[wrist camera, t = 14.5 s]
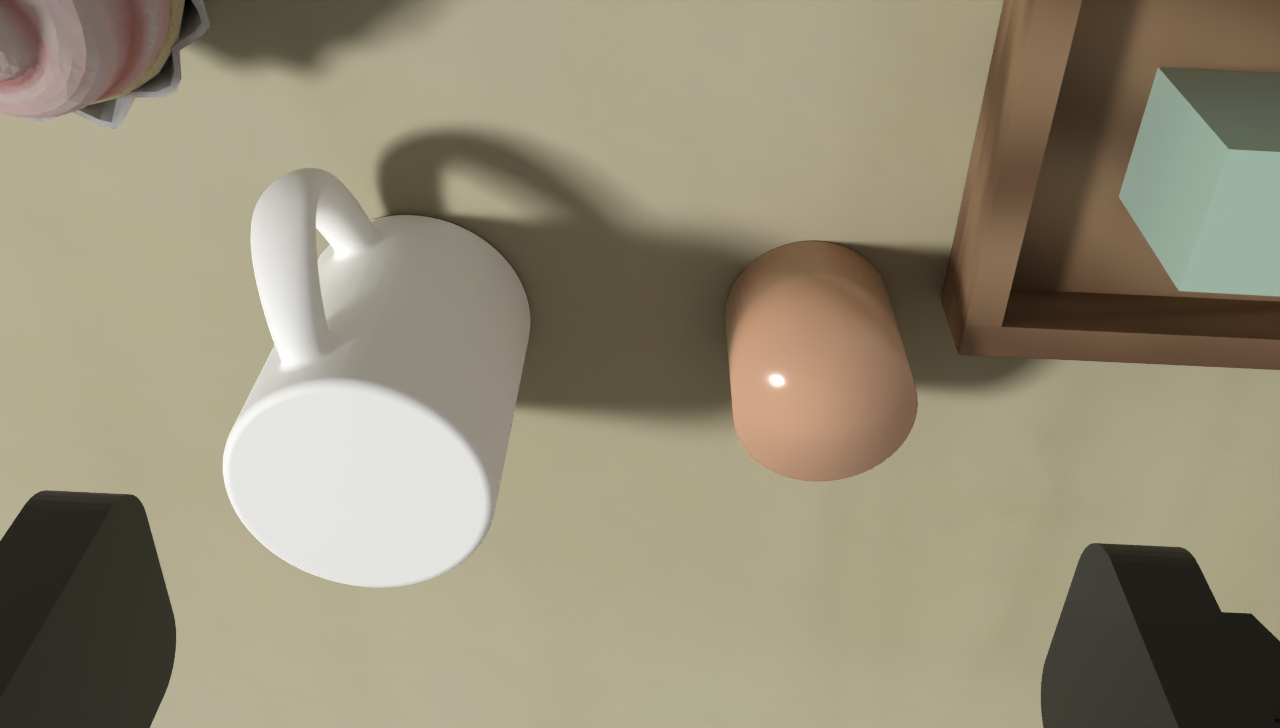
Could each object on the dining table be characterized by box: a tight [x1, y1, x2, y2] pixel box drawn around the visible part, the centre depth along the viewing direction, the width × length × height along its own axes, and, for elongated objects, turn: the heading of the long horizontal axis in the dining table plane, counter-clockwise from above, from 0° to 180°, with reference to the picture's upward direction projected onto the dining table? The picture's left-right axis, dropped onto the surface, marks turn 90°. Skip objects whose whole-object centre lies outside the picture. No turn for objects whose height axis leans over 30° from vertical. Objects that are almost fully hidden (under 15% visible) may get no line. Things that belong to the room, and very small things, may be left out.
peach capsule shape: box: [725, 241, 918, 481], centre depth 42 cm, size 6×6×6 cm
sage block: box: [1119, 67, 1280, 297], centre depth 36 cm, size 4×4×6 cm
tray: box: [941, 0, 1280, 370], centre depth 38 cm, size 14×14×4 cm
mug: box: [223, 168, 531, 587], centre depth 40 cm, size 8×10×12 cm
